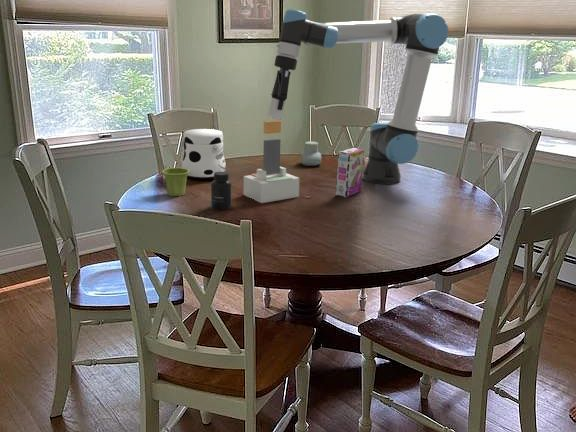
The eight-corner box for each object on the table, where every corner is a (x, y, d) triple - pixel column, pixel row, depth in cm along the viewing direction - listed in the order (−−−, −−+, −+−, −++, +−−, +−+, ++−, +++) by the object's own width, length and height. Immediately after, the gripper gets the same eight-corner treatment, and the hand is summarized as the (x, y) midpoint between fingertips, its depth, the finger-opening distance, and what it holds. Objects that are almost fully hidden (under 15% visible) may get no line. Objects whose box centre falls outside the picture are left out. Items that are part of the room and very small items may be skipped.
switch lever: (262, 175, 211) (263, 121, 205) (277, 173, 215) (278, 120, 209) (265, 176, 210) (266, 122, 204) (280, 174, 213) (281, 121, 208)
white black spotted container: (233, 178, 237) (233, 133, 231) (193, 184, 228) (192, 137, 222) (213, 169, 251) (212, 127, 245) (175, 174, 241) (173, 130, 236)
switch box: (243, 194, 215) (243, 167, 212) (280, 188, 224) (280, 163, 221) (261, 203, 206) (261, 175, 203) (298, 196, 214) (299, 169, 211)
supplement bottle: (215, 211, 195) (214, 176, 192) (208, 206, 201) (207, 171, 197) (234, 209, 198) (234, 174, 195) (227, 204, 204) (226, 170, 200)
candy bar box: (347, 198, 214) (349, 153, 209) (335, 195, 217) (337, 151, 212) (361, 191, 223) (364, 148, 218) (350, 189, 226) (352, 147, 221)
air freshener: (299, 162, 268) (300, 140, 265) (318, 162, 269) (318, 140, 266) (303, 167, 258) (303, 145, 255) (321, 167, 259) (322, 145, 256)
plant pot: (194, 192, 216) (194, 169, 213) (179, 199, 208) (179, 175, 205) (173, 189, 220) (172, 166, 217) (157, 195, 212) (156, 171, 209)
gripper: (271, 55, 215) (259, 113, 219) (281, 53, 191) (268, 118, 195) (291, 60, 217) (279, 117, 221) (304, 58, 193) (290, 123, 197)
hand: (274, 118), depth 208 cm, fingers open, 13 cm apart
